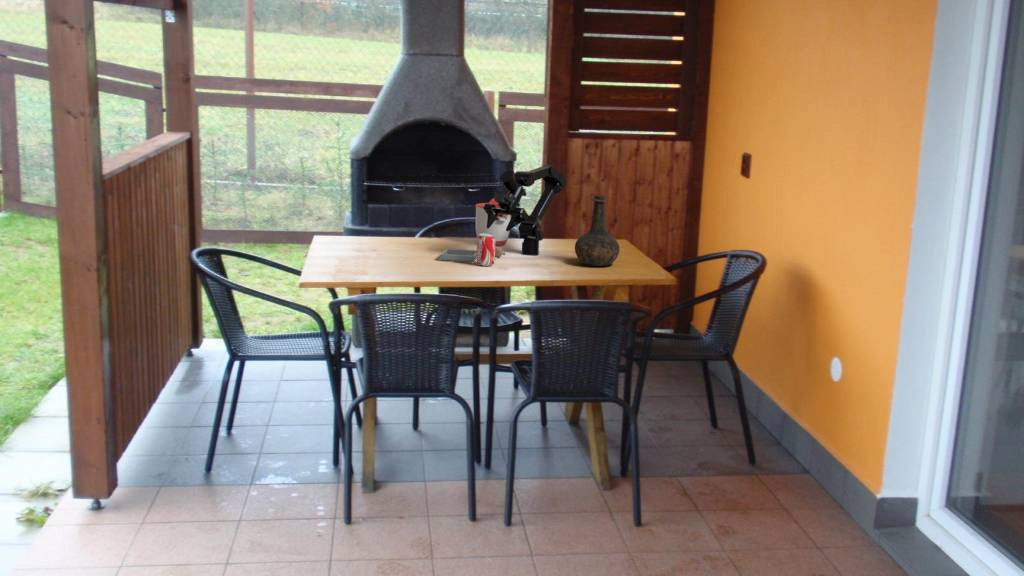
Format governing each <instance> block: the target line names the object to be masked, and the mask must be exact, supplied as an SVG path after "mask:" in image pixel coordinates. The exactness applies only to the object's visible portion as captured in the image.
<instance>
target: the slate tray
mask: <svg viewBox="0 0 1024 576" xmlns="http://www.w3.org/2000/svg"><path fill="white" fill-rule="evenodd" d="M476 259H477V250H472V249H469V250H468V249H460V248H459V249H457V248H455V249H454V248H446V249H445V250H444V251H442V252H441V253H440V254H439V262H449V261H454V262H453V263H455V262H456V263H464V262H474V261H475V260H476ZM476 261H477V260H476ZM476 261H475V262H476ZM475 262H474V263H475Z"/></svg>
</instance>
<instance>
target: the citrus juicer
mask: <svg viewBox="0 0 1024 576" xmlns="http://www.w3.org/2000/svg"><path fill="white" fill-rule="evenodd" d="M494 199H495V197H494V198H491V199H490V200H489V201H488V203H489V204H494V205H495V206H496V208H500V206H498V202H495V201H494ZM486 203H487V202H481V203H476V204H475V234H476V238H477V239H478V237H479V234H483V233H487V234H493V235H494V238H495V247H496V246H498V247H499V246H505V245H506V244H507V241H508V238H509V235H510V231H511V230H509V231H508V232H507V231H506V228H507V226H508V224H509V222H510V220H511V217H512V215H506V214H500V213H499V214H498V216H497V217H496V218H497V219H496V220H495V221H494V223H493V224H492V225H491V227H490V228H489V229H488V228H487V219H488V215H487V213H486V212H485V210H484V209H483V207H484V205H485V204H486Z"/></svg>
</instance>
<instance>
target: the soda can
mask: <svg viewBox="0 0 1024 576" xmlns="http://www.w3.org/2000/svg"><path fill="white" fill-rule="evenodd" d="M495 248H496V246H495V238H494V235H493V234H487V233H483V234H479V237H478V239H477V241H476V251H477V260H476V264H477V265H479V266H480V265H483V266H482V267H492V266H493V265H494V264H495V262H496V261H495V260H496V258H495ZM491 265H492V266H491Z"/></svg>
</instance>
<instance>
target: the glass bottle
mask: <svg viewBox="0 0 1024 576" xmlns="http://www.w3.org/2000/svg"><path fill="white" fill-rule="evenodd" d="M593 197H594V198H592V199H591V200H592V202H593V210H592V219H591V224H590V228H589V232H587V233H586V234H583V235H580V236H579V237H578V238H577V240H576V241H575V245H574V253H575V255H576V257H577V258H578V260H579V262H581V263H582V264H583V265H584V266H585V265H586V266H590V267H606V266H607V267H608V266H609V265H611V264H613V263H614V262H615V261H616V260H617V259H618V257H619V254H620V244H619V242H618V240H617V239H616V238H615V237H613V236H612V235H610V234H609V232H608V228H607V222H606V221H607V220H606V219H607V218H606V202H607V200H606V197H607V196H606V195H605V194H601V193H599V194H593Z"/></svg>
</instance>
